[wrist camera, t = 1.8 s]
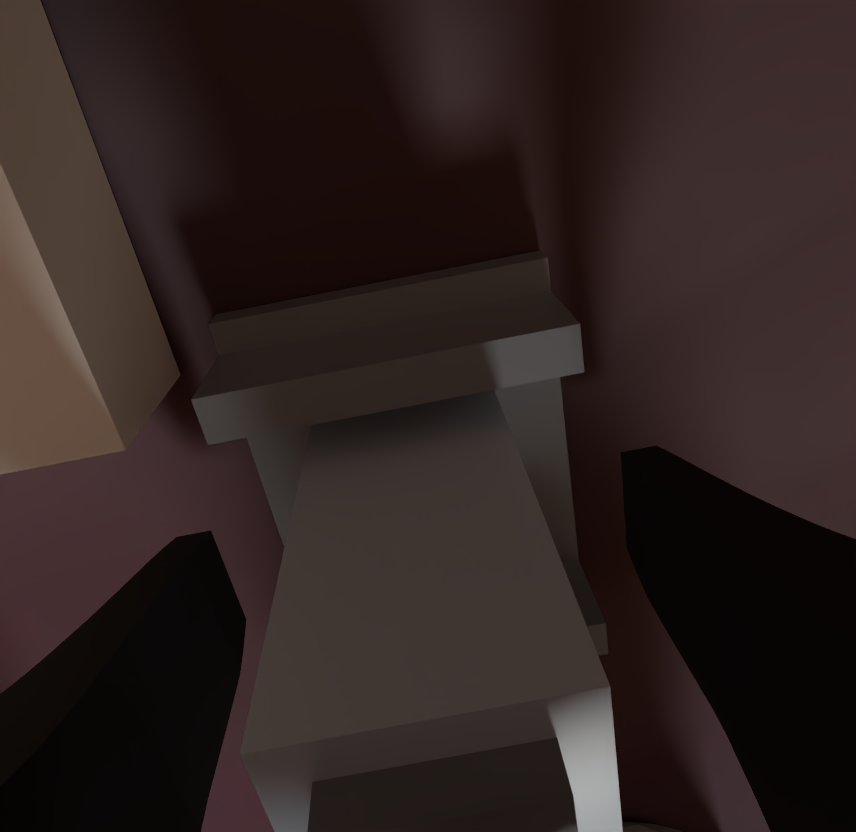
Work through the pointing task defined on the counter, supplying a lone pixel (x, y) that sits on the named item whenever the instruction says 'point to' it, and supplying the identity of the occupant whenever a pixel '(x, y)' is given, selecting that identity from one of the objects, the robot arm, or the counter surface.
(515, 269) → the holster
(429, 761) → the plug
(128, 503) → the counter surface
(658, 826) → the coffeepot
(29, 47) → the port
